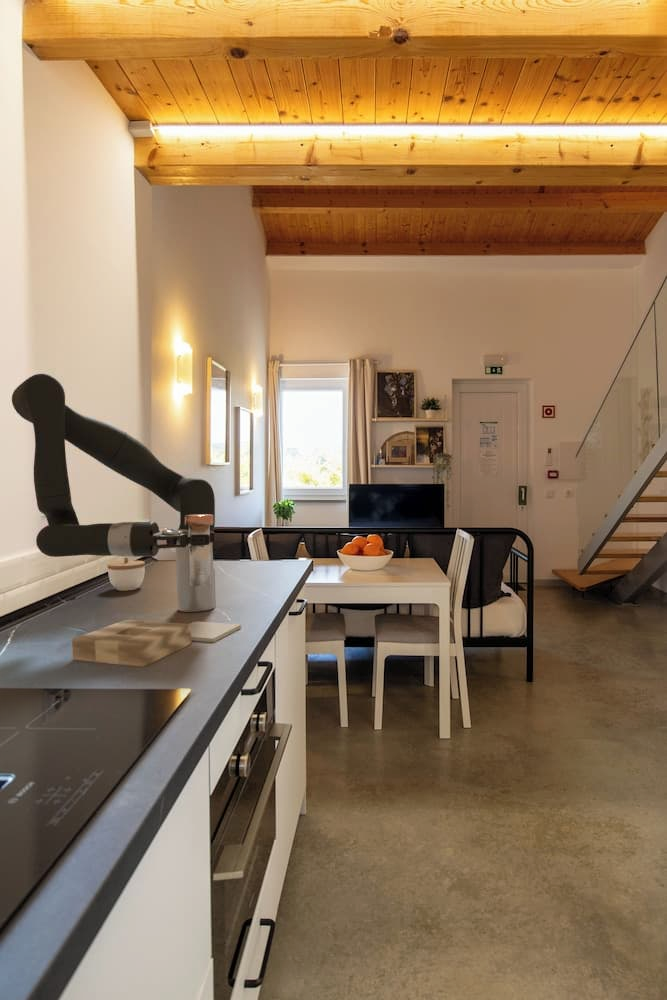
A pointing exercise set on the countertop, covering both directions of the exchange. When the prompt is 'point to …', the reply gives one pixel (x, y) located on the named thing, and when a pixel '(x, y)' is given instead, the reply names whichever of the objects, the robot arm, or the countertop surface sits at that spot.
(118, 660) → the bore block
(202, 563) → the copper-capped metal cylinder
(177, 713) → the countertop surface
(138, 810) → the countertop surface
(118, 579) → the lidded jar
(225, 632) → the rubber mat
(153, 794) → the countertop surface
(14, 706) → the countertop surface
